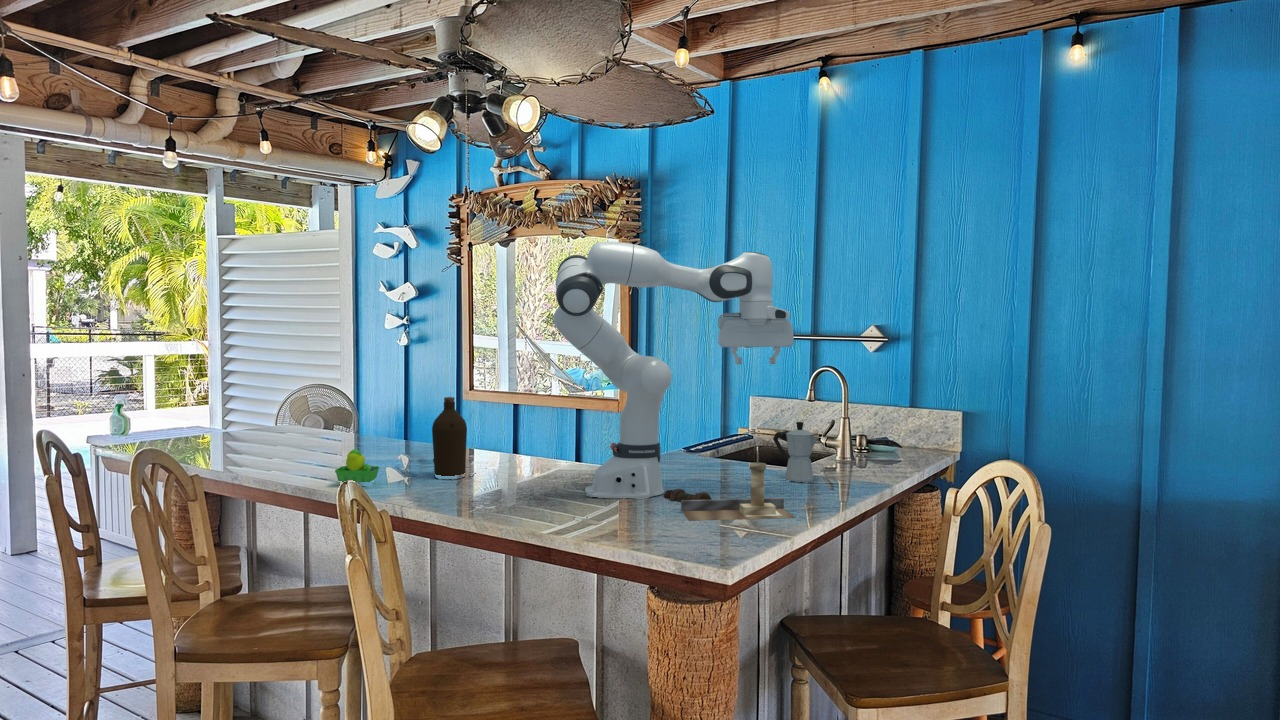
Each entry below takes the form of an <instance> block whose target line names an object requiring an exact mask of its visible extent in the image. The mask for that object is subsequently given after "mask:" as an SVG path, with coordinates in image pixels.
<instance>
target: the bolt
mask: <svg viewBox="0 0 1280 720" xmlns="http://www.w3.org/2000/svg"><path fill="white" fill-rule="evenodd" d="M663 498H664V499H667V500H669V501H671V502H679V503H681V500H712V497H711V495H710V494H709V493H708V492H707V491H703V492H698V493H697V492H696V493H695V494H694V493H693V494H692V493H689V492H686V491H685V490H684V489H683V488H676V489H673V490H671V489H668V490H665V491H664V493H663Z"/></svg>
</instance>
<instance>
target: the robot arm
mask: <svg viewBox="0 0 1280 720" xmlns="http://www.w3.org/2000/svg"><path fill="white" fill-rule="evenodd" d="M772 265H773V264H772V261H771V259H770V257H769V256H768V255H767V254H765V253H762V252H755V251H744V252H742V254H740V255H739V256H737V257H736V258H734V259H732V260H729V261H727V262H724V263H722V264H719V265H716V266H715V265H714V266H709V267H707V268H706V267H704V268H695V267H690V266H684V265H679V264H675V263H672V262H669V261H667V259H665V258H663V257H662V255H661V253H659V252H658V251H657V250H654V249H652V248H649V247H647V246H642V245H638V244H634V243H628V242H619V241H598V242H596V243H594V244H593V245H592V247H591V248H590V249H589V251H588V254H587V257H586V256H584V255H580V254H572V255H569V256H567V257H566V258H564V259H563V261H561V263H560V264H559V266H558V269H557V271H556V272H557V275H556V278H555V290H556V291H555V297H556V302H557V304H558V306H557V308H556V310H555V311H554V315H553V325H554V326H555V329H557V330H558V332H559V333H560V335H562V336H563V338H564V339H566V341H568V342H569V343H570V344H571V345H572V346H573V347H574V348H575V349H576V350H578V351H579V352H580V353H581V354H583V355H584V356H585V357H586V358H587V359H589V361H591V362H592V363H593V364H595V365H596V367H597V368H599V369H600V370H601V371H602V373H603V374H604V375H605V377H607V379H608V380H609V381H610V382H611V384H612V385H613V386H614V387H615V388H616V389H618V390H620V391H621V392H624V393H627V396H626V400H625V405H624V408H623V410H622V411H621V413H620V416H619V442H618V443H616V442H612V443H610V445H609V447H610V449H611V451H612V456H611V457H610V458H609V459H607V460H606V461H605V462H604V463H602V464H601V465H599V467H597V468H596V470H595V471H594V474H593V478H592V479H593V480H592V485H589V486H586V487H585V489H584V494H585V493H586V494H587V495H588V496H587V495H586V494H585V495H586V496H587V497H589V496H590V497H589V498H592V497H598V498H597V499H625V498H636V499H635V500H638V499H643V500H645V498H646V499H649V498H652V497H656V496H660V495H664V494H665V488H664V485H663V481H662V474H661V469H660V468H661V467H660V463H661V454H662V453H661V452H662V451H661V450H662V449H661V443H660V442H659V437H660V435H659V434H660V433H659V430H660V424H659V423H660V414H661V412H660V411H661V408H662V403H663V399H664V397H665V393H666V392H667V390H668V389H669V388H670V385H671V383H672V378H673V377H672V370H671V368H670V366H669V365H668V363H666V362H665V361H664V360H662V359H660V358H658V357H656V356H651V355H650V356H649V355H642V354H639V353H637V351H634V350H633V349H632V348H631V346H630V345H629V344H628V343H627V341H626V340H625V337H624V335H623V334H622V332H619V331H618V330H617V328H615V327H614V326H612V324H610V323H609V322H608V321H607V320H606V319H605V318H603V317H602V316H601V315H599V314H598V313H597V312H596V311H595V310H594V309H593V308H594V306H595V305H596V303H597V301H598V299H599V297H600V296H601V294H602V293H603V291H604V285H607V284H615V285H621V286H626V287H633V288H657V287H670V288H673V289H674V288H675V289H680V290H685V291H690V292H694V293H697V294H698V295H700V297H702V298H703V299H705V300H707V301H709V302H712V303H722V302H725V301H729V300H734V299H735V298H738V299H739V312H730V313H729V312H723V314H720V315H719V317H718V318H717V319H718V320H717V326H718V338H717V344H718V346H719V347H722V348H730V352H731V354H732V355H733V356H734V364H735V365H742V364H743V358H742V357H739V355H738V353H737V352H738V351H739V348H772V351H773V352H774V353H773V354H772V356H770V357H768V360H769V361H768V363H769V364H770V365H776V364H777V358H778V356H779V354H780V352H781V348H792V346H793V345H794V340H795V339H794V328H793V325H792V322H791V321H790V320H789V319H790V317H791V314H790V313H791V312H790V311H788V310H785V309H782V308H779V307H776V306H774V305H773V303H774V300H773V298H772V289H773V286H774V285H773V283H774V279H773V278H774V277H773V276H774V275H773V266H772Z"/></svg>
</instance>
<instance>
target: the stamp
mask: <svg viewBox="0 0 1280 720" xmlns="http://www.w3.org/2000/svg"><path fill="white" fill-rule="evenodd" d="M766 469H767V463H765V462H750V463H749V470H750V499H751V503H750V504H740V511H739V512H740V513H741V514H743V515H744V516H746V515H775V514H776V506H774V505H773V504H772V503H764V498H765V471H766Z"/></svg>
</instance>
